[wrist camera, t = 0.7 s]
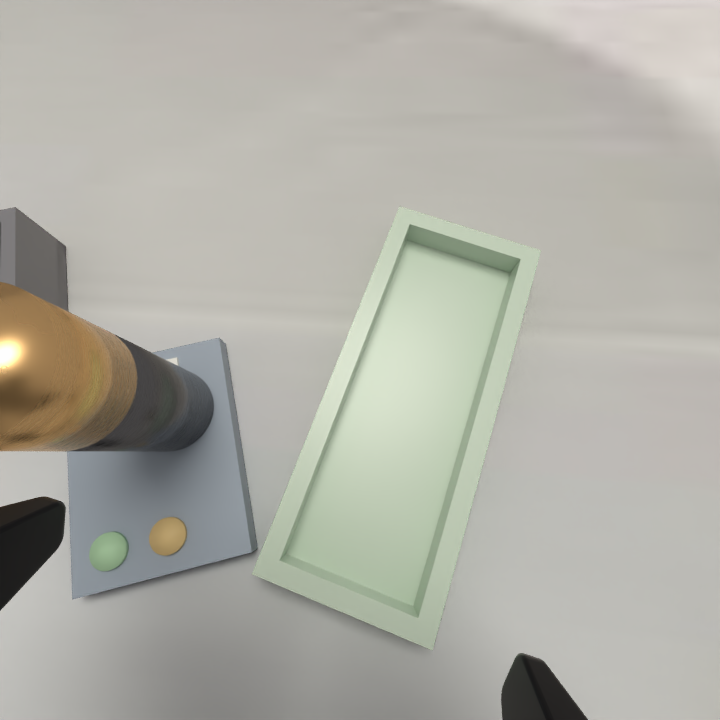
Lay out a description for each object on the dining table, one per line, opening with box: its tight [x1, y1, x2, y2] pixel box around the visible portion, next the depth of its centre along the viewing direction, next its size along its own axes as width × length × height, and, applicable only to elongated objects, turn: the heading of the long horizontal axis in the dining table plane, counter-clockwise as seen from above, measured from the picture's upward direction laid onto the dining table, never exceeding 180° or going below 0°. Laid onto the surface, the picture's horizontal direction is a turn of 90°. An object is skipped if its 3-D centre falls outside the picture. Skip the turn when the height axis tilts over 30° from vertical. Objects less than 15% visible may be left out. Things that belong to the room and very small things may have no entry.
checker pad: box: [67, 338, 257, 600], centre depth 22 cm, size 9×12×2 cm
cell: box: [0, 282, 214, 452], centre depth 16 cm, size 5×5×13 cm
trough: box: [252, 206, 541, 651], centre depth 22 cm, size 22×9×2 cm, turn 160°
